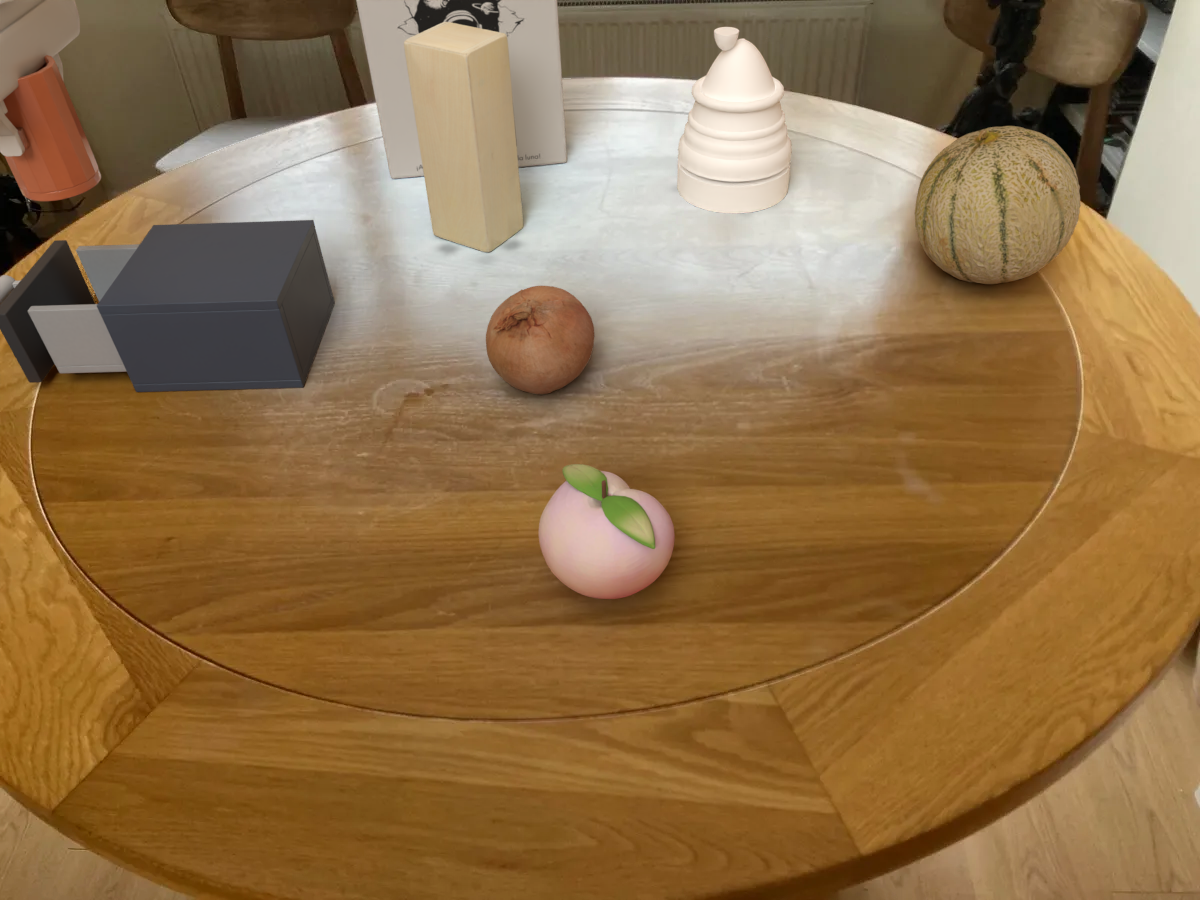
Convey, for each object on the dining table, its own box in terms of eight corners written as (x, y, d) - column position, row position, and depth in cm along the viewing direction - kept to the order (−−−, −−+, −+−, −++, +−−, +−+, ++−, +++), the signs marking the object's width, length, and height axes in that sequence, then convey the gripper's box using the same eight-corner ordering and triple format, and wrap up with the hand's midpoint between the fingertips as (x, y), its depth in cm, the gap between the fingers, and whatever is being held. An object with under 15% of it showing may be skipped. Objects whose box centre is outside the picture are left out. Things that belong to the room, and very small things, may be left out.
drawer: (-21, 384, 87) (-62, 316, 82) (39, 307, 96) (6, 241, 91) (182, 378, 86) (154, 309, 81) (224, 301, 96) (200, 235, 91)
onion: (532, 431, 85) (491, 378, 77) (493, 354, 90) (450, 296, 81) (625, 378, 85) (594, 319, 76) (581, 303, 90) (548, 240, 81)
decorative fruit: (517, 586, 68) (503, 485, 61) (594, 522, 73) (589, 421, 66) (617, 657, 63) (613, 556, 57) (693, 584, 68) (698, 482, 61)
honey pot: (719, 224, 106) (727, 58, 94) (656, 180, 114) (656, 22, 102) (810, 193, 110) (830, 31, 98) (743, 153, 119) (754, -1, 107)
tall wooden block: (530, 224, 107) (511, 30, 93) (490, 254, 103) (464, 54, 89) (473, 208, 110) (448, 18, 96) (432, 236, 106) (399, 41, 92)
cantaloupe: (1088, 293, 93) (1141, 146, 83) (960, 327, 90) (999, 177, 80) (992, 224, 104) (1029, 86, 94) (874, 252, 100) (899, 111, 90)
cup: (7, 190, 82) (-50, 73, 76) (73, 161, 86) (25, 48, 80) (50, 208, 80) (-5, 88, 73) (116, 177, 84) (70, 61, 77)
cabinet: (135, 392, 87) (96, 305, 80) (185, 307, 97) (153, 224, 91) (303, 387, 86) (276, 300, 80) (335, 303, 97) (313, 219, 90)
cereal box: (561, 137, 124) (547, -77, 107) (567, 163, 118) (553, -59, 101) (392, 153, 122) (351, -63, 105) (390, 180, 117) (347, -44, 100)
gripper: (-73, -7, 63) (20, 188, 72) (58, -86, 78) (120, 84, 87) (-167, -4, 63) (-63, 191, 72) (-18, -83, 78) (52, 86, 87)
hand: (38, 131), depth 80 cm, fingers closed on cup, 6 cm apart
